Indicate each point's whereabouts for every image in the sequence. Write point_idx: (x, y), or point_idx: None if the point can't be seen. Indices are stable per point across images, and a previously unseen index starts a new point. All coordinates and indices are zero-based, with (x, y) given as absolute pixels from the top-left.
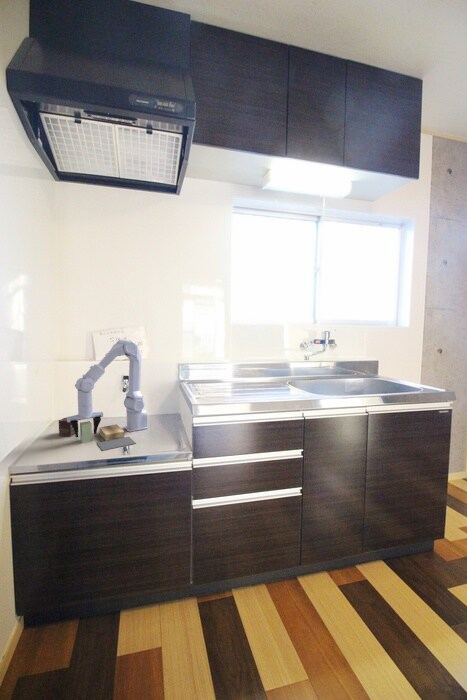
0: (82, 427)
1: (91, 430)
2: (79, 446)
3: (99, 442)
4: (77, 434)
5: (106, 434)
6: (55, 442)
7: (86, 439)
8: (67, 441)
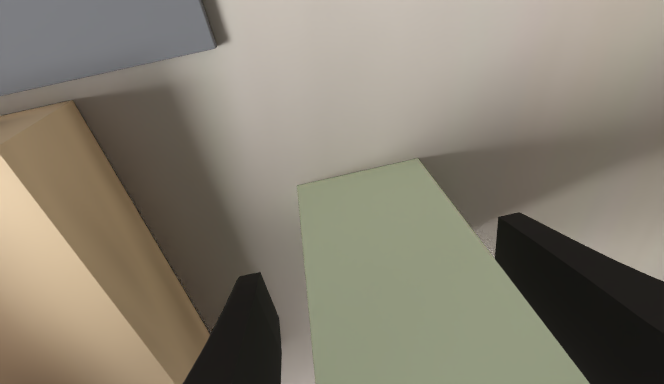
0: (542, 346)
1: (313, 298)
2: (477, 18)
3: (170, 51)
4: (540, 237)
5: None
6: (644, 247)
7: (374, 188)
8: None
